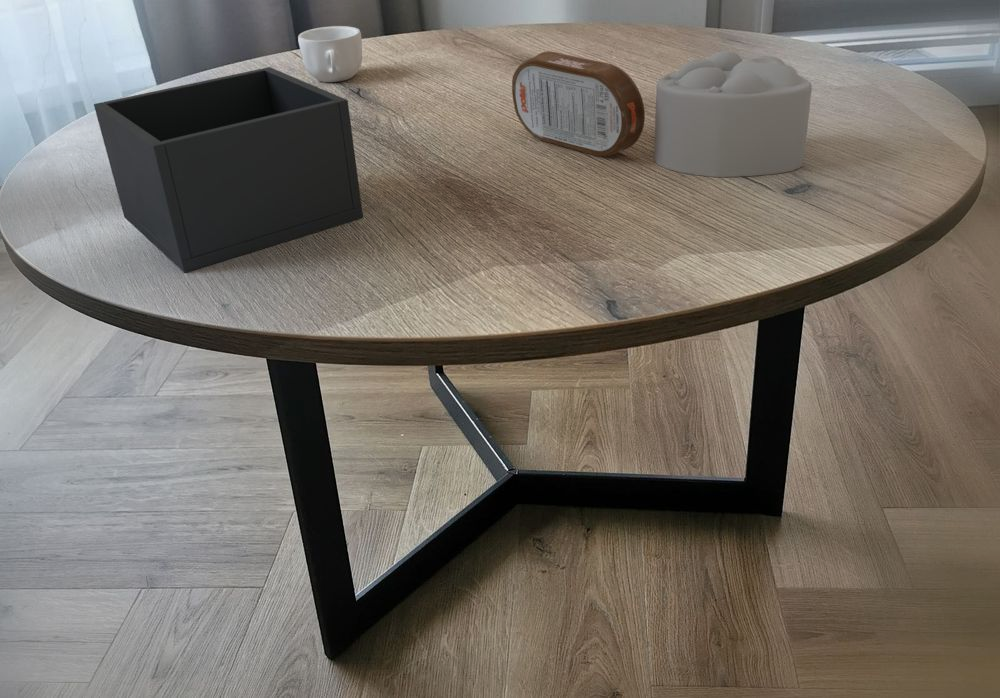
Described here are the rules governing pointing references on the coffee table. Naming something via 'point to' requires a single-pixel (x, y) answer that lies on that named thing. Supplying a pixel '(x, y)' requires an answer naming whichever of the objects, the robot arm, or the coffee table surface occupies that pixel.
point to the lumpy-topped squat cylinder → (732, 117)
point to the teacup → (331, 52)
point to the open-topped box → (231, 164)
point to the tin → (578, 103)
